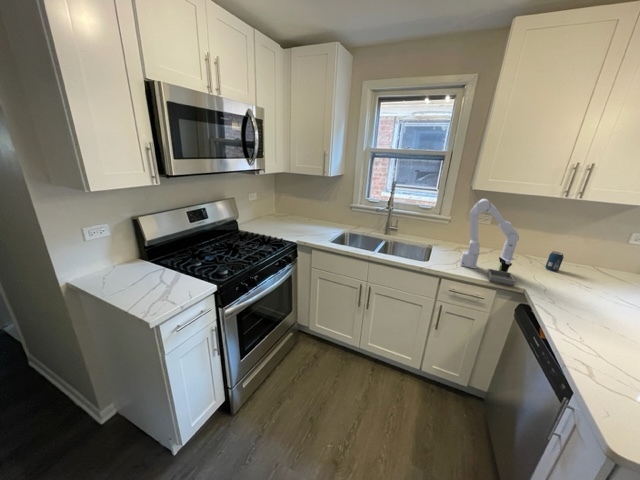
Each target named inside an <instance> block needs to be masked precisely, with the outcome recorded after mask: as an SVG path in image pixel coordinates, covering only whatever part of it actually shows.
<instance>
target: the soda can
mask: <svg viewBox="0 0 640 480" xmlns="http://www.w3.org/2000/svg"><path fill="white" fill-rule="evenodd" d="M563 260H564V253H562V252H558V251H551V252H550V253H549V255H548V259H547V261H546V263H545V265H544V266H545V269H546V270H547V271H549V270H550V272H555V273H556V272H558V271H560V268H561V265H562V263H563Z"/></svg>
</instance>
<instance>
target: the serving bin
mask: <svg viewBox="0 0 640 480" xmlns="http://www.w3.org/2000/svg"><path fill="white" fill-rule="evenodd" d="M486 276H487V279H488V282H490V283H494V284H498V285H504V286H509V287H512V288H513V287H515V283H516V280H515V277H513V274H512V272H503V271H498V270H497V269H493V268H487V271H486Z"/></svg>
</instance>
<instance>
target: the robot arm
mask: <svg viewBox="0 0 640 480" xmlns="http://www.w3.org/2000/svg"><path fill="white" fill-rule="evenodd" d="M483 212H486V213H488V214H491V215H492V216H493V218H494V219H495V220H496V222H498V225H497V226H498V228H499V229H500V231H501V232H502V233H503V235H504V236H506V240H505V242H504V244H503V247H502V252H501V255H500V256H499V257H498V259H499V262H501V264H502V267H501V271H503V272H506V271H507V269H508V268H509V269H510V267H511V266H512V265H513V263H511V261H514V260H515V258H514V254H515V250H516V247H517V244H518V241H519V240H520V235H519V234H518V233H519V232H518V231H517V229H515V228H514V227H513V225H512V224H513V223H512V222H510V221H508V220H505V219H504V218H503V216H502V215H501V213H500V212H499V210H498V209H497V208H496V206H495V205H494V204H493V203H492V202H490V200H489V199H487V198H481V199H479V200H478V201H477V202H476V203H475V205H473V207H472V208H471V210H470V211H469V243H468V244H469V245H468V248H467V250H466V251H462V254H461V258H460V260H459V263H460V266H461V267H467V268H471V269H475V270H477V268H478V267H477V263H478V259H479V255H480V248H481V246H480V243H479V215H480V214H481V213H483ZM509 269H508V270H509Z"/></svg>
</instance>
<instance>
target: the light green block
mask: <svg viewBox="0 0 640 480" xmlns="http://www.w3.org/2000/svg"><path fill="white" fill-rule="evenodd" d="M501 267H502V264H501V262H500V261H499V262H498V264H497V269H496V270H498V271H501ZM509 269H510V267H509V268H508V269H507V271H506V272H508V271H509ZM508 273H509V272H508Z"/></svg>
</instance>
